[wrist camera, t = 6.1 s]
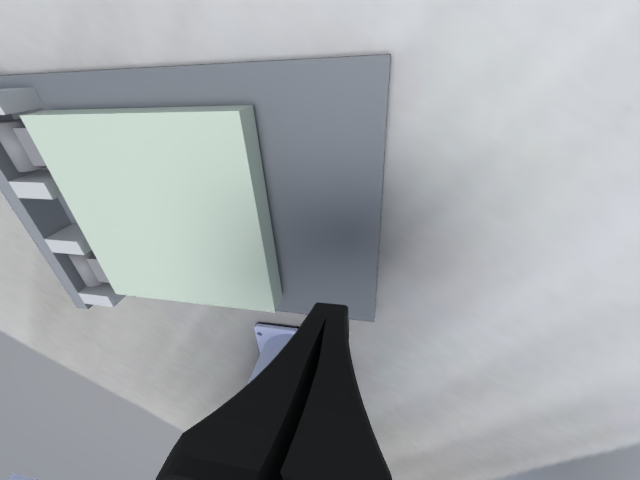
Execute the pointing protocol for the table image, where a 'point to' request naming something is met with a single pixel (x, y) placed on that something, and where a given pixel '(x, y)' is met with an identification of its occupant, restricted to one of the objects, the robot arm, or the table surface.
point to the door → (161, 199)
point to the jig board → (276, 155)
